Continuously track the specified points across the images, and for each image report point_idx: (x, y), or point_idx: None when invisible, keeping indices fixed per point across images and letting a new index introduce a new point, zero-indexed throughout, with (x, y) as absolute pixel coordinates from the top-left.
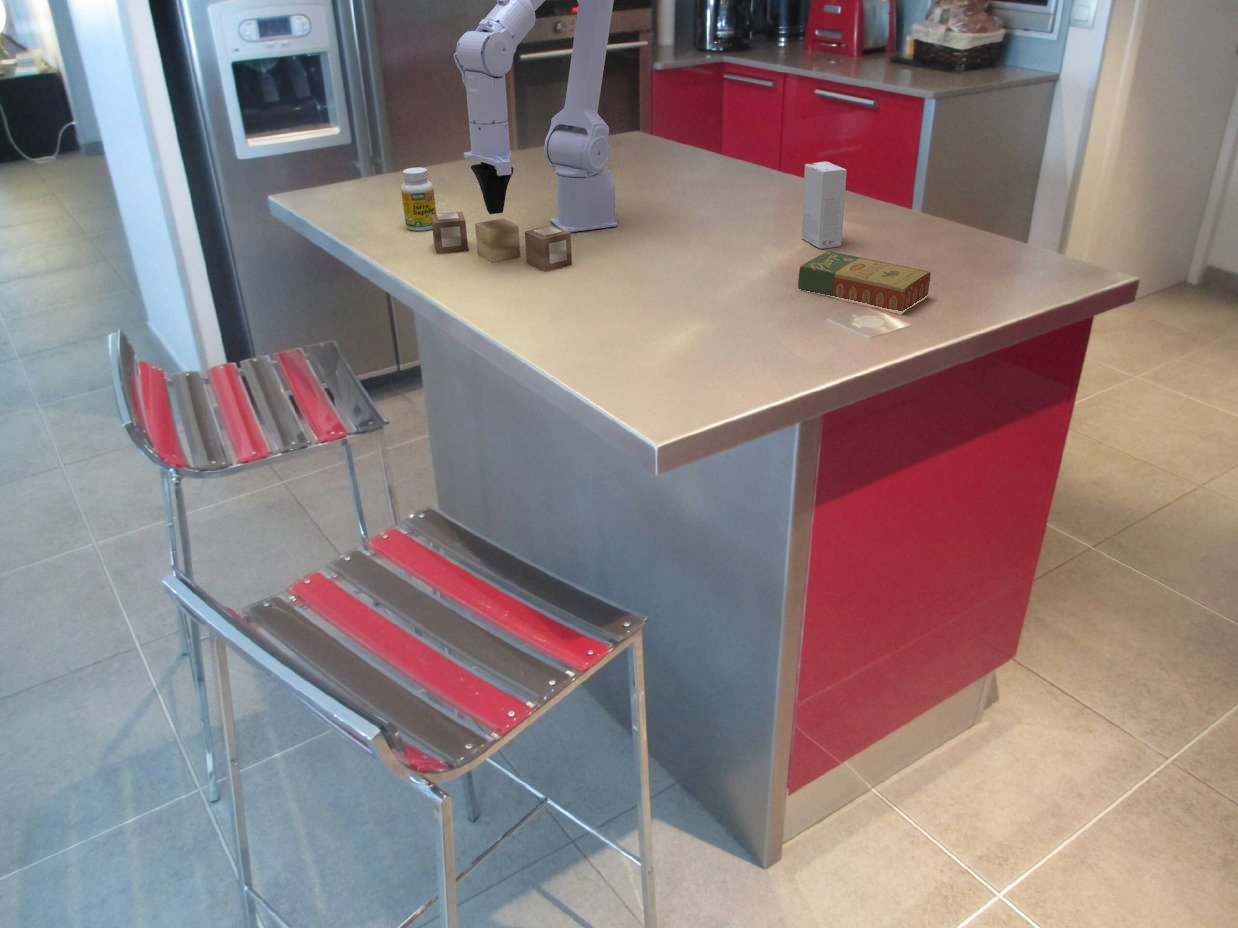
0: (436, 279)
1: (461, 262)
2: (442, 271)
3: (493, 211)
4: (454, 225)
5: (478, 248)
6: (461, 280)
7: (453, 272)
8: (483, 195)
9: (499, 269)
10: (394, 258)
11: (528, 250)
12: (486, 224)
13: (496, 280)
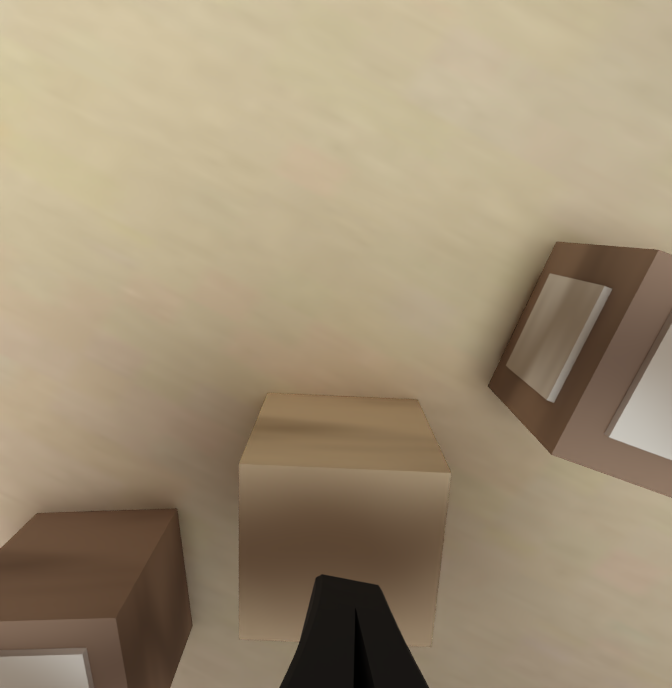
0: (191, 55)
1: (356, 283)
2: (288, 140)
3: (308, 610)
4: (575, 378)
5: (405, 410)
6: (110, 159)
7: (242, 181)
8: (394, 685)
9: (162, 379)
10: (650, 8)
11: (129, 549)
12: (382, 517)
13: (27, 299)
